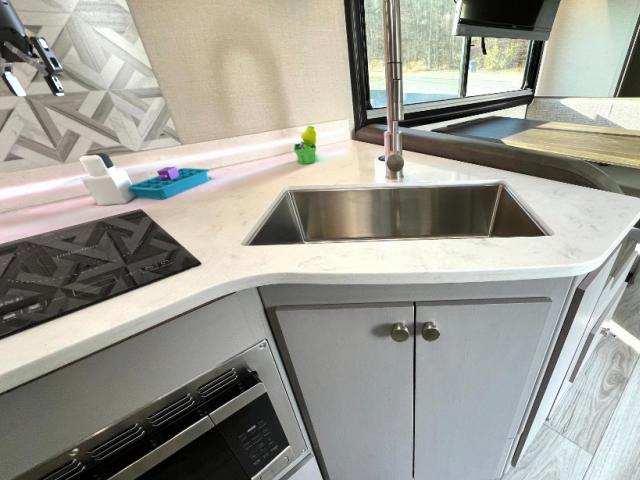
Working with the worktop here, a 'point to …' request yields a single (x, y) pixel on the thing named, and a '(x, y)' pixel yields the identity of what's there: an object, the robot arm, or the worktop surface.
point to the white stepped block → (106, 180)
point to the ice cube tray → (170, 184)
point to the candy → (168, 173)
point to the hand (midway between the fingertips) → (40, 96)
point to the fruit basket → (307, 146)
